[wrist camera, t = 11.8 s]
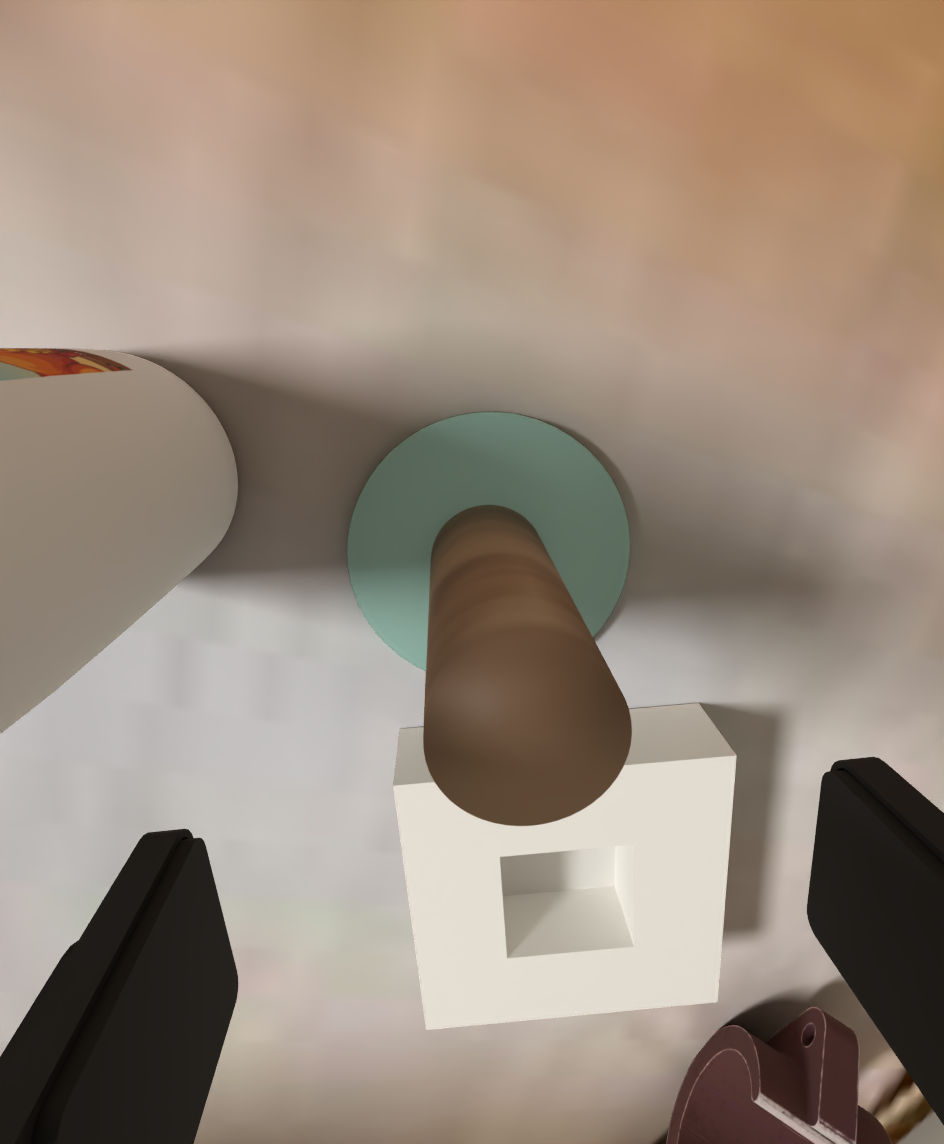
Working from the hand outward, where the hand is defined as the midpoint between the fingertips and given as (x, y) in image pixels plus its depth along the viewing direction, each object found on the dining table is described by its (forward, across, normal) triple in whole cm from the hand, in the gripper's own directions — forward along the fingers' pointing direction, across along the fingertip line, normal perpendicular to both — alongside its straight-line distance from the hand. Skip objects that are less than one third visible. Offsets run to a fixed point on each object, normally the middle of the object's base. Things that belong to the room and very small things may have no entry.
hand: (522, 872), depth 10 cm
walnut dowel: (+14, -1, -1) cm, 14 cm away
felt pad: (+14, -1, -1) cm, 14 cm away
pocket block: (+15, -3, +12) cm, 19 cm away
